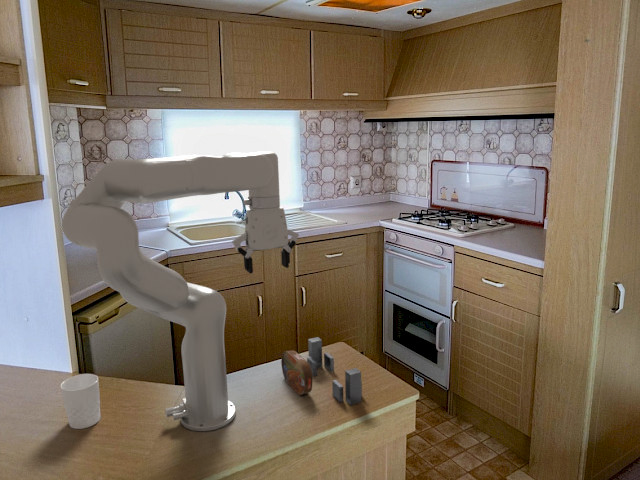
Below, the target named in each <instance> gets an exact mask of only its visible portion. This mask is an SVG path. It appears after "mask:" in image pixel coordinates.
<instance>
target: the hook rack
mask: <svg viewBox="0 0 640 480" xmlns="http://www.w3.org/2000/svg"><path fill="white" fill-rule="evenodd" d="M307 341H308V347H307V349H308V356H307V357H306V361H307V362H308V363H309V365H310V367H311V370H312V374H313V378H314V377H317V376H318V370H317V369H319V368H323V367H324V368H326V369H327V370H328V371H329V372H330V373H332V372H333V373H334V372H335V366H334V365H335V362H334V361H335V360H334V359H335V358H334V357H333V355H331V354H330V353H329V352H324V353H323V340H322V339H321V338H320V337H319V336H317V337H312V338H308V339H307ZM323 360H324V362H323ZM323 363H324V366H323ZM344 375H345V376H344V377H345V378H344V379H345V380H344V382H345V384H344V385H345V391H344V386H343V385H342V384H341V383H340V382H339V381H338V380H337V379H334V380H332V383H331V384H332V396H333V397H334V399H336V400H337V402H339V403H343V402H344V392H345V402H346V403H347V404H348V405H349V406H353V405H357V404H360V403H362V396H363V393H362V392H363V390H362V389H363V386H362V385H363V382H362V372H361V370H359V368H357V367H354V368H351V369H350V368H349V369H347V370H345V371H344Z"/></svg>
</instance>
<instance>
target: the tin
mask: <svg viewBox="0 0 640 480" xmlns="http://www.w3.org/2000/svg"><path fill="white" fill-rule="evenodd" d="M280 362H281V370H282V375H283V378H284V380H285V382H286V383H287V384H288V385H289V386H290V387H291V388H292V389H293V390H294V391H295V392H296V394H298V395H299V396H301V395H305V394H308V393H310V392H311V391H312V390H313V378H314V377H313V374H312V370H311V367H310V365H309V363H308V362H307V359H305V358H304V357H303V356H301V354H299V352H297V351H296V350H284V351H283V352H282V355H281V361H280Z"/></svg>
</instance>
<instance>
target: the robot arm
mask: <svg viewBox="0 0 640 480" xmlns="http://www.w3.org/2000/svg"><path fill="white" fill-rule="evenodd" d="M279 171H280V170H279V157H278V154H276V153H275V152H274V151H257V152H256V151H255V152H254V151H253V152H249V153H247V152H246V153H245V152H243V153H242V152H230V153H225V154H223V155H222V156H215V155H201V154H198V155H197V154H192V155H191V154H188V155H179V156H168V157H167V156H166V157H155V158H154V157H153V158H142V159H141V158H139V159H132V158H115V159H113V160H110V161H109V162H107V163H106V164H105V165H103V166H102V167H101V168H100V169H99V170H98V171H97V173H95V174H94V176H93V177H92V178H90V179H91V180H90V181H89V182H88V183H87V184H86V185H85V187H84V188H83V189H82V190H81V191H80V193H79V194H78V195H77V196H76V197H75V198H74V199H73V201H72V202H71V203H70V204H69V205H68V207H67V208H66V209H65V210H66V211H65V212H64V215H63V217H62V219H61V220H62V223H61V228H62V231H63V235H64V236H65V238H66V239H67V240H68V241H70V242H71V243H72V244H74V245H76V246H79V247H83V248H87V249H91V250H94V251H96V257H97V258H96V260H97V267H98V270H99V272H98V273H99V274H100V277H101V279H102V281H103V282H104V283H105V284H106V285H107V286H108V287H110V288H111V289H112V290H114V291H116V292H118V293H119V294H120V296H121V298H123V300H124V301H125V302H126V303H128V304H129V305H132V306H133V307H136V308H138V309H140V310H142V311H144V312H146V313H147V312H148V313H150V314H152V315H154V316H157V317H159V318H161V319H164V320H166V321H169V322H172V323H175V324H178V325H180V326H183V327H184V328H185V333H184V337H183V339H182V342H181V349H180V350H181V351H180V352H181V359H182V360H181V361H182V371H183V384H184V393H185V397H184V398H182V403H179V404H178V405H176V406H171V407H167V408H165V409H164V410H165V411H164V412H165V417H166V418H169V417H172V419H173V421H177V420H180V423H181V425H182V426H183V427H185V429H188V430H190V431H196V432H210V431H215V430H218V429H221V428H223V427H225V426H227V425H228V424H229V423H231V422H232V420H234V418H235V417H236V413H237V412H236V405H234V403H233V402H232V401H230V400H229V395H228V394H229V392H228V380H227V379H228V378H227V377H228V376H227V366H226V362H227V361H226V353H225V351H226V350H225V325H226V317H227V315H226V314H227V304H226V300H225V298H224V297H223V296H222V294H221V293H220V292H218V291H217V290H216V289H214V288H210V287H207V286H203V285H200V284H196V283H192V282H188V281H186V280H185V278H184V277H183V276H182V275H181V274H180V273H179V272H178V271H175V270H173V269H172V268H169V267H167V266H165V265H163V264H161V263H159V262H158V261H155V260H154V259H152V258H150V257H148V256H147V255H145V254H144V253H142V251H141V248H140V242H139V241H140V240H139V235H140V234H139V229H138V225H137V222H136V221H135V219H134V218H133V216H132V215H131V214H130V213H129V212H128V211H126V210H124V209H123V208H122V207H123V206H124V204H125V203H126V202H127V203H133V204H134V203H135V204H150V203H152V204H153V203H157V202H164V201H165V202H166V201H170V200H175V199H176V200H177V199H181V198H182V199H183V198H189V197H197V196H208V195H209V196H210V195H216V194H223V193H224V194H225V193H233V192H245V191H248V196H247V198H246V199H243V206H248V208H247V209H246V216H245V222H244V223H245V224H244V225H245V226H244V228H245V229H244V233H242V234H241V235H239V236H238V237H236V238H235V239H233V240H232V245H233V247H234V248H235V250H236V251H237V252H238V253H239V254H240V255H241V256H242V257H243V264H244V265H243V266H244V270H245V271H246V272H247V273H249V274H250V275H251V274H253V273H254V268H253V266H254V265H253V258H252V257H251V256H252V254H253V253H254V251H263V250H270V249H279V248H282V250H281V252H280V254H281V266H283V267H285V268H286V269H288V268H290V265H289V264H291V263H290V262H291V256H290V255H291V252H292V249H293V248H294V246H296V242H297V241H298V238H299V233H298V232H295V231H293V230H290V229H288V224H287V216H286V212H285V209H284V206H281V201H280V200H281V199H280V177H279V176H280V173H279ZM289 236H290V239H289ZM243 242H245V245H246V247H245V248H243V247H242V246H241V243H243Z"/></svg>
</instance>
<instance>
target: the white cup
mask: <svg viewBox="0 0 640 480" xmlns="http://www.w3.org/2000/svg"><path fill="white" fill-rule="evenodd" d="M59 387H60V390H61V396H62V401H63V406H64V411H65V415H66V417H67V420H68V426H69V427H70V428H71V429H75V430H76V429H77V430H82V429H87V428H89V427H92V426H94V425H95V424H97V423H99V422H100V420H101V416H102V415H101V400H100V399H101V396H100V385H99V376H98V375H97V374H93V373H82V374H81V373H80V374H77V375H74V376H73V375H72V376H69V378H67V379H65V380H62V382H61V384H60V385H59Z"/></svg>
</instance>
